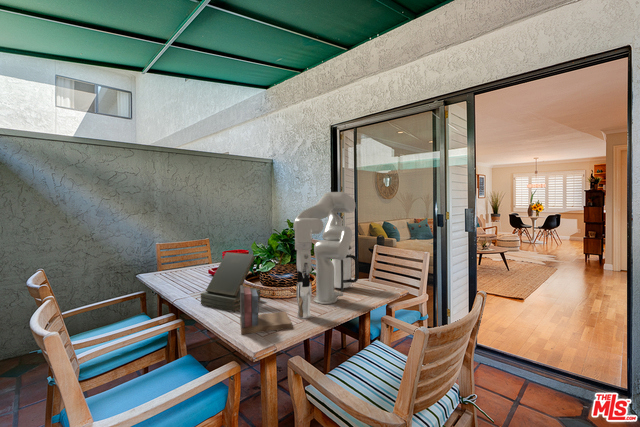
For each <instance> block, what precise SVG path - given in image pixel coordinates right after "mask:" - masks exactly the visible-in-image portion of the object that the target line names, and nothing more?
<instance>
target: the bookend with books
mask: <svg viewBox="0 0 640 427" xmlns="http://www.w3.org/2000/svg"><path fill="white" fill-rule="evenodd" d="M243 287H244V285H240V309H239V310H240V314H239V315H240V316H239V323H240V335H246V334H247V335H249V334H255V333H256V334H257V333H262V332H269V331H270V332H272V331H279V330H285V329H286V330H287V329H292V328H293V327H292V324H293V323H292V322H291V320H290V318H289V316H288V313H287V312H286V311H279V312H278V311H277V312H271V313H261V314H259V301H258V294H257V291H256V289H257V288H256V289H252V290H250V288H251V287H249V288H243Z"/></svg>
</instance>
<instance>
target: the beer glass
mask: <svg viewBox="0 0 640 427" xmlns="http://www.w3.org/2000/svg"><path fill="white" fill-rule="evenodd" d="M295 289H296V291H295V295H296V301H297V302H296V303H297V309H298V310H297V317H298V319H303V320H304V319H309V318H311V317H312V314H311V302H312V297H313V296H312V295H313V294H312V291H313V290H312V283H311V282H310V286H309V287H302V282H296V288H295Z"/></svg>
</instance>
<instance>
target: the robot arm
mask: <svg viewBox="0 0 640 427" xmlns="http://www.w3.org/2000/svg"><path fill="white" fill-rule="evenodd" d="M355 209H356V202H355V199H354V198H353V196H351V195H350V194H348V193H347V192H343V191H328V192H326V193H323V195H322V196H321V198H320V199H319V200H318V201H317V203H315V204H314V205H313V206H310V207H308V208H307V209H304V210H302V211H301V212H299V214H298V215H297V216H296V218H295V220H294V222H293V226H292V227H293V231H294V250H295V251H296V269H297V270H296V272H297V273H296V274H297V277H296V278H297V279H296V283H298V282H302V287H309V286H310V283H311V280H310V279H311V278H310V277H311V276H310V273H311V272H312V271H313V270H312V266H313V265H312V253H311V252H312V251H311V250H312V249H313V252H314V258H315V276H316V279H315V282H316V284H315V286H316V291H315V292H316V296H314V297H313V302H314V303H316V304H320V305H331V304H334V303H336V302H338V297H343V296H344V292H341V291H335V287H334V265H333V263H332V261H331V259H334V260H343V259H345V258H346V256H347V253H348V250H349V246H351V242H352V240H353V239H352V238H353V231H352V228H351V227H349V226H347V225H343V223H344V222H343V219H342V218H341V216H340V215H339V214H338V213H340V214H341V213H346V214H347V213H352V212H354V211H355ZM326 218H327V222H326V225H325V227H324V221H323V219H326ZM320 233H322V239H323V240H319V241H317V242H316V243H315V244H314V245H313V246H314V248H312V235H319V234H320Z"/></svg>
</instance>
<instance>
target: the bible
mask: <svg viewBox="0 0 640 427" xmlns="http://www.w3.org/2000/svg"><path fill="white" fill-rule="evenodd" d="M254 255H255V254H252V253H251V254H250V253H240V252H227V251H226V252H225V254H224V256H223V258H222V259H221V261H220V264H219V266H218V267H217V269H216V271H215V273H214V275H213V276H212V278H211V280H210V282H209V284H208V285H207V287H206V289H205V291H204V292H201V293H200V305H201V304H202V305H201V306H204V305H206V306H205V307H209V306H210V308H213V307H214V309H218V310H224V311H228V312H233V313H235V312H237V311H239V310H240V285H243V284H244V282H245V280H246V279H247V276H248V273H249V271H250V269H252V266H253V263H254V261H255V259H256V256H254ZM243 288H249V287H248V286H244V285H243ZM252 289H256V291H257V294H258V302H260V301H261V298H262V296H261V294H262V293H261V290H262V289H261V288H257V287H250V290H252Z"/></svg>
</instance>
